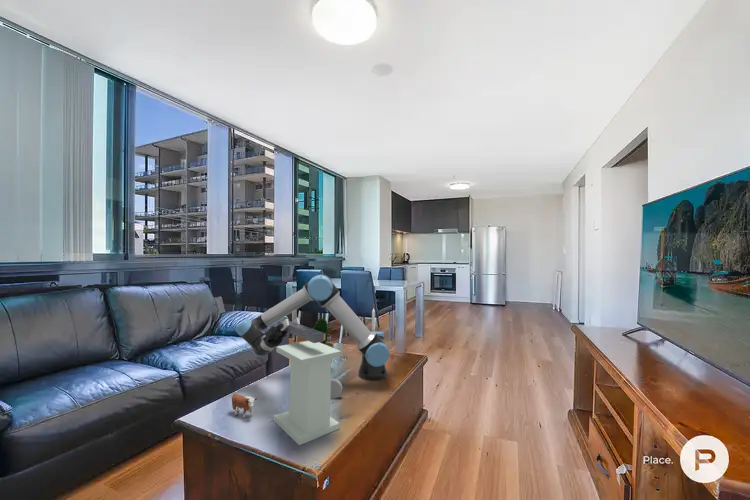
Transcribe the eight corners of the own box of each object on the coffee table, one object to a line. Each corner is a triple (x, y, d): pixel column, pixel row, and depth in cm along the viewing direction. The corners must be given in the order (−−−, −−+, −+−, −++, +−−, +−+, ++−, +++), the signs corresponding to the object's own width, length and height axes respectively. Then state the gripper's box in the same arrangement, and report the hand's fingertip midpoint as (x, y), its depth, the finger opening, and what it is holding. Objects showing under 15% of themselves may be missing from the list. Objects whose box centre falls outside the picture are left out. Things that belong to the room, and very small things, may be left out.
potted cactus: (307, 367, 174) (309, 314, 175) (334, 367, 175) (336, 314, 176) (302, 377, 159) (303, 319, 160) (332, 377, 159) (333, 320, 160)
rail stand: (274, 420, 116) (276, 346, 117) (311, 408, 126) (313, 339, 127) (299, 445, 101) (301, 359, 102) (339, 428, 111) (341, 351, 112)
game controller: (342, 397, 137) (343, 378, 138) (341, 399, 135) (341, 380, 135) (301, 394, 140) (301, 375, 140) (299, 396, 138) (299, 377, 138)
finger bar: (277, 328, 130) (278, 321, 130) (288, 326, 133) (288, 319, 133) (314, 343, 108) (314, 334, 108) (325, 341, 111) (325, 332, 111)
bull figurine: (249, 422, 114) (250, 400, 115) (228, 412, 121) (229, 392, 122) (259, 417, 118) (260, 396, 118) (238, 408, 125) (239, 388, 125)
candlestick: (382, 362, 185) (383, 304, 186) (364, 362, 184) (365, 304, 185) (380, 356, 196) (381, 302, 197) (363, 357, 195) (364, 301, 196)
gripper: (290, 344, 143) (313, 327, 129) (254, 351, 132) (274, 333, 117) (287, 329, 146) (309, 310, 132) (251, 334, 135) (271, 314, 120)
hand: (293, 321), depth 125 cm, fingers closed on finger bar, 4 cm apart
